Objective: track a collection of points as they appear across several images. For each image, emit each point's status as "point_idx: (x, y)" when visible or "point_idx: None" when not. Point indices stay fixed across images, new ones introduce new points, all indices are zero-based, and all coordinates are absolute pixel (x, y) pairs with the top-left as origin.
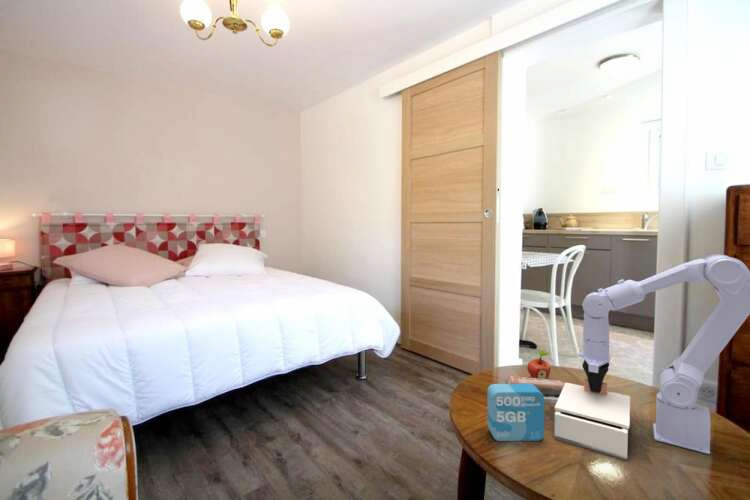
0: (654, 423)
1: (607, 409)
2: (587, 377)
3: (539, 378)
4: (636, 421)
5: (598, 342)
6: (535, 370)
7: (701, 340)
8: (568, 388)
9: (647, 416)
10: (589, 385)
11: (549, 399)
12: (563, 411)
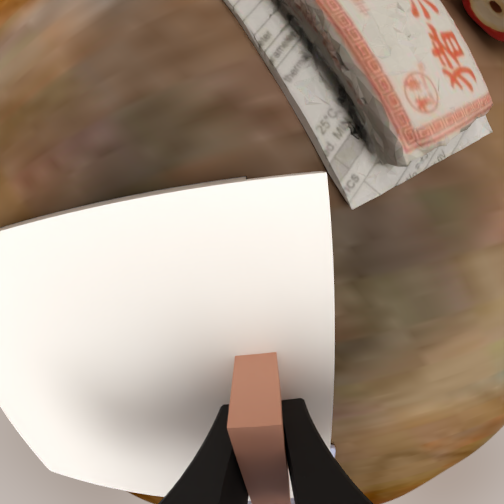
0: (331, 450)
1: (88, 447)
2: (167, 494)
3: (472, 2)
4: (333, 414)
5: None
6: None
7: None
8: (181, 240)
9: (390, 421)
10: (207, 435)
11: (278, 74)
12: None
